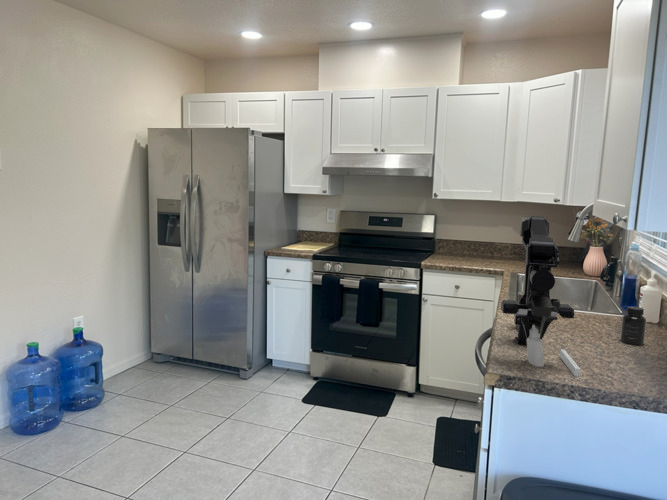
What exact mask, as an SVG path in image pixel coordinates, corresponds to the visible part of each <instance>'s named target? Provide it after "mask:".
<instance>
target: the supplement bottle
mask: <svg viewBox="0 0 667 500" xmlns="http://www.w3.org/2000/svg"><path fill="white" fill-rule="evenodd" d="M643 315H644V308H643V307H639V306H633V305H632V306H631V305H630V306H627V307H626V314H624V315H623V316H622V319H621V320H622V321H621V331H620V332H621V333H620V341H621V342H622V343H624V344H627V345H631V346H642V345H644V344H645V338H646V336H645V335H646V326H647V319H646V317H645V316H643Z"/></svg>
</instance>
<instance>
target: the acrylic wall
mask: <svg viewBox="0 0 667 500" xmlns="http://www.w3.org/2000/svg"><path fill="white" fill-rule="evenodd" d="M559 358H560V359H561V361H562V362H563V363H564V365H565V366H566V368H567V369H568V370H569V371H570V373H571V374H572V375H573V377H576V378H580V374H581V368H580V367H579V365H577V363H576V362H575V361H574V359H573V358H572V356H570V355H569V354H568V352H567V350H566V349H562V348H561V349H560V351H559Z"/></svg>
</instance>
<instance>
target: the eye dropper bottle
mask: <svg viewBox="0 0 667 500" xmlns="http://www.w3.org/2000/svg"><path fill="white" fill-rule="evenodd" d="M529 335H530V336H529V337H528V338H527V345H526V348H527V349H526V350H527V351H526V352H527V353H526V354H527V355H526V356H527V362H528V363H529V364H531V365H533V366H535V367H541V368H543V367H544V364H545V362H544V348H543V345H544V344H543V341H542V339H540V334H539V333H538V329H536V328H535V325H532V328H531V329H529Z"/></svg>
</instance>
